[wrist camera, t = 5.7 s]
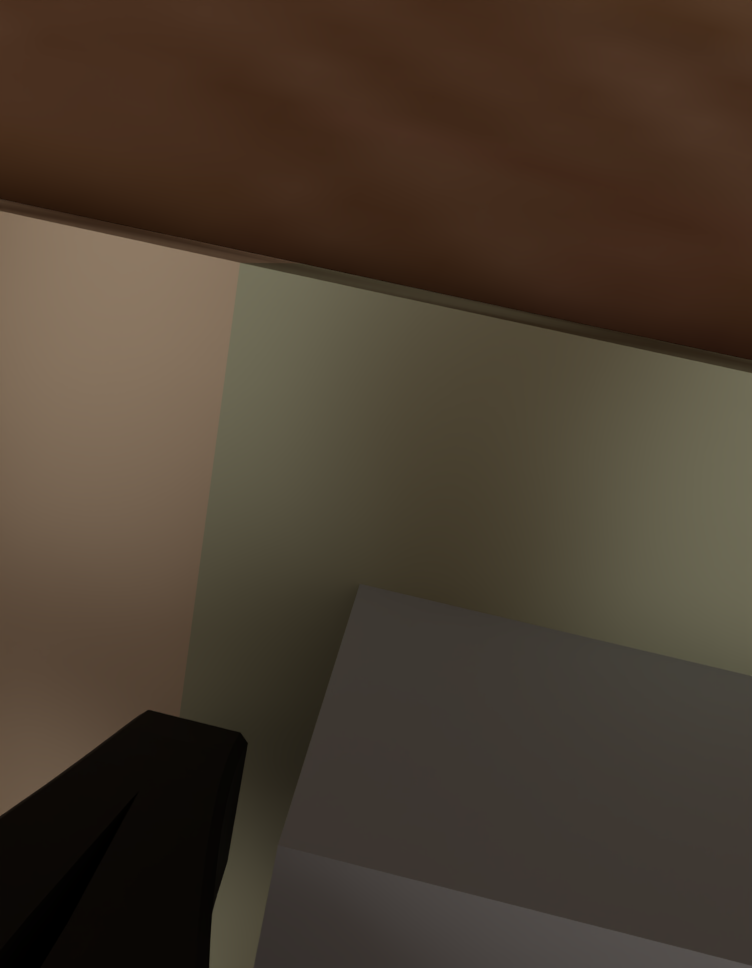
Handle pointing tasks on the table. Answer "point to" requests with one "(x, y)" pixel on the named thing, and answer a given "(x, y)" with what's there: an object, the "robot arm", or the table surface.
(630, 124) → the table surface
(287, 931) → the block
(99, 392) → the trap deck
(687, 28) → the table surface
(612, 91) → the table surface
